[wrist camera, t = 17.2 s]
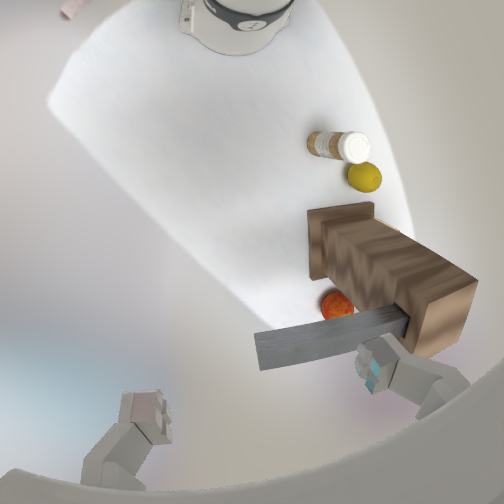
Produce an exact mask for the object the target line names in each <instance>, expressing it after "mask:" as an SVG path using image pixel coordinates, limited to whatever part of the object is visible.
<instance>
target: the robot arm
mask: <svg viewBox="0 0 504 504" xmlns="http://www.w3.org/2000/svg"><path fill="white" fill-rule="evenodd" d="M293 1H294V0H183V5H182V10H181V15H180V21H179V30H180V31H182V32H183V33H186V34H189V35H192V36H194V37H195V38H197V39H198V40H199V41H200V42H201V43H202V44H203V45H204V46H206V47H207V48H209V49H211V50H213V51H215V52H218V53H221V54H225V55H232V56H241V55H248V54H252V53H255V52H257V51H259V50H261V49H263V48H264V47H266V46H267V45H268V44H269V43H270V42H271V41H272V39H273V38H274V36H275V35H276V33H277V32H278V31H280V30H282V29H283V28H285V27H286V26H288V24H289V22H290V18H289V16H288V15H289V14H290V12H291V11H292V9H293V5H292V4H293ZM185 19H189V21H185ZM357 351H358V352H359V354H358V355H357V357H356V360H355V366H356V370H357V373H358V374H359V376H360V377H361V378H363V379H366V382H365V385H366V387H367V388H368V390H369V391H370V392H371V394H372V395H373V394H376V393H378V392H381V391H383V390H386V389H388V388H389V390H391V391H393V392H395V393H397V394H398V395H401V396H402V397H404V398H406V399H408V400H410V401H412V402H414V403H416V404H418V405H420V406H421V407H420V409H419V410H418V412H417V414H416V419H417V420H418V421H417V422H415V423H413V424H412V425H410V426H408V427H406V428H404V429H403V430H401V431H399V432H397V433H395V434H393V435H391V436H389V437H387V438H385V439H383V440H381V441H379V442H376V443H374V444H372V445H370V446H368V447H365V448H363V449H361V450H359V451H356V452H354V453H351V454H349V455H346V456H343V457H341V458H338V459H336V460H333V461H330V462H327V463H324V464H321V465H318V466H315V467H312V468H308V469H305V470H302V471H299V472H295V473H291V474H287V475H284V476H279V477H275V478H271V479H266V480H262V481H257V482H251V483H247V484H240V485H234V486H226V487H219V488H210V489H199V490H184V491H146V486H145V485H144V484H143V483H142V482H140V481H139V480H138V479H136V478H135V475H136V473H137V472H138V470H139V468H140V467H141V465H142V464H143V462H144V460H145V458H146V457H147V455H148V454H149V452H150V450H151V449H152V447H153V446H152V445H161V444H172V430H171V429H170V427H169V424H170V423H171V421H172V419H171V411H170V407H169V404H168V403H167V401H166V400H164V399H163V394H162V392H161V390H160V389H154V390H138V391H125V392H124V393H123V394H122V400H121V406H120V412H119V420H118V423H115V424H114V425H113V426H112V427H111V428H110V429H109V431H108V432H107V433H106V434H105V435H104V436H103V437H102V438H101V440H100V441H99V442H98V443H97V444H96V445H95V446H94V448H93V449H92V450H91V451H90V452H89V453H88V454H87V456H86V457H85V458H84V461H83V468H82V475H81V484H76V483H70V482H65V481H61V480H56V479H52V478H48V477H44V476H41V475H37V474H33V473H30V472H27V471H24V470H21V469H12V470H10V471H9V472H7V473H6V474H5V475H4V476H3V477H2V478H1V479H0V504H504V358H503V359H502V360H501V361H500V362H499V363H498V364H497V365H495V366H494V367H493V368H492V369H491V370H490V371H488V372H487V373H486V374H485V375H484V376H482V377H481V378H480V379H479V380H478V381H476V382H475V383H474V384H472V385H471V384H470V383H469V381H468V380H467V379H466V378H465V377H464V376H463V375H462V374H461V373H460V372H459V371H458V370H457V368H455V367H451V366H449V365H446V364H443V363H440V362H437V361H433V360H431V359H428V358H425V357H422V356H419V355H416V354H410V353H409V352H408V351H407V350H406V349H405V348H404V347H403V346H402V344H401V343H400V342H399V341H398V340H397V339H396V338H395V337H394V336H393V335H392V334H391V333H387V334H384V335H381V336H379V337H376V338H373V339H371V340H368V341H365V342H363V343H360V344H359V345H358V348H357Z"/></svg>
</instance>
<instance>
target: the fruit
mask: <svg viewBox="0 0 504 504" xmlns="http://www.w3.org/2000/svg"><path fill="white" fill-rule="evenodd" d="M321 311H322V315H323V317H324V318H325V320H329V319H333V318H338V317H342V316H347V315H351V314H353V313H354V305H353V304H352V303H351V302H350V301H349V300H348V298H347V297H346V296H345V295H344V294H343V293H342V292H335V293H331V294H329V295H328V296H327V297H326V298H325V299H324V301H323V303H322V307H321Z"/></svg>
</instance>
